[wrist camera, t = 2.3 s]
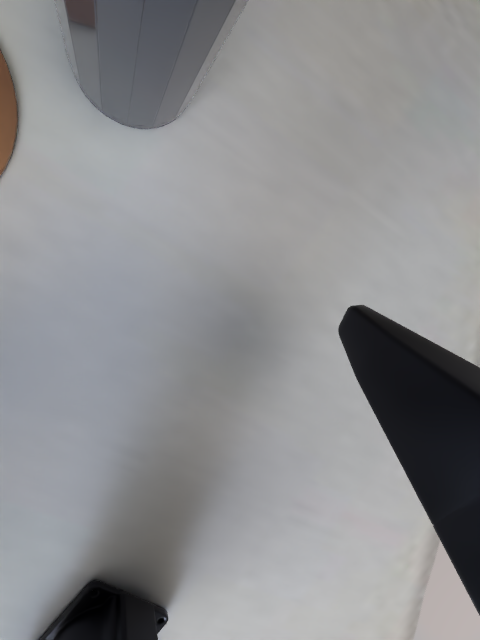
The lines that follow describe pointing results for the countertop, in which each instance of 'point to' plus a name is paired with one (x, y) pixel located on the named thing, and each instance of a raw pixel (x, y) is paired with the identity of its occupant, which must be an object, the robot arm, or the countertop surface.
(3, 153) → the trivet
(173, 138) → the countertop surface
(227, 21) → the grey metal tumbler
